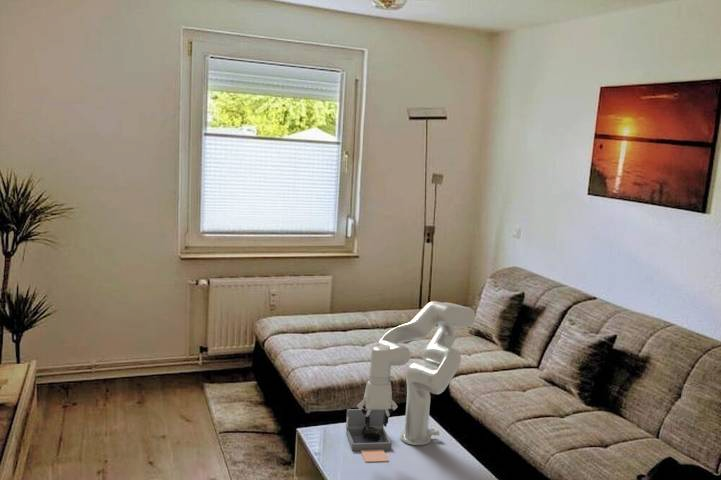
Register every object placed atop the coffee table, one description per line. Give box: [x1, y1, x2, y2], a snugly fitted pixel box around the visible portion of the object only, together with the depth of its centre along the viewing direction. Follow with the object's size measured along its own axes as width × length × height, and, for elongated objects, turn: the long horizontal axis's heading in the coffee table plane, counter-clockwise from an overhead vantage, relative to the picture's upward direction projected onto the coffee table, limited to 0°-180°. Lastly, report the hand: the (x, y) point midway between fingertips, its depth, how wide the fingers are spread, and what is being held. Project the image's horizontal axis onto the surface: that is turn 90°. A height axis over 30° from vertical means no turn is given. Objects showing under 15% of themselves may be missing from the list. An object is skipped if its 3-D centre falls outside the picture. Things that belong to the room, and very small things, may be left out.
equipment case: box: [345, 408, 392, 451], centre depth 244 cm, size 16×15×10 cm
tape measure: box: [361, 426, 381, 442], centre depth 246 cm, size 7×7×4 cm
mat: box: [360, 449, 390, 463], centre depth 232 cm, size 9×9×1 cm
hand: (376, 424), depth 231 cm, fingers open, 6 cm apart
